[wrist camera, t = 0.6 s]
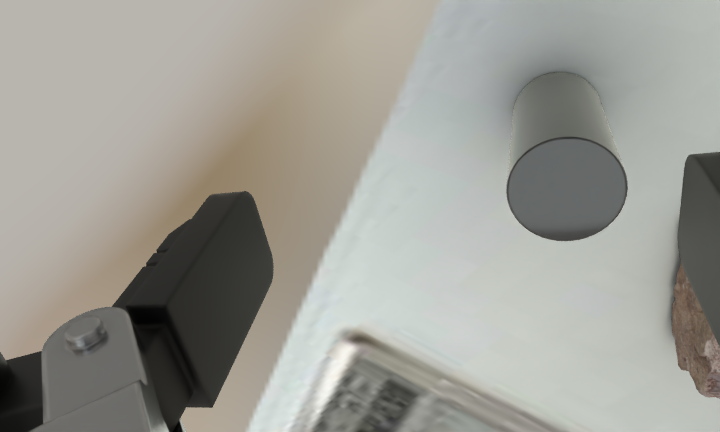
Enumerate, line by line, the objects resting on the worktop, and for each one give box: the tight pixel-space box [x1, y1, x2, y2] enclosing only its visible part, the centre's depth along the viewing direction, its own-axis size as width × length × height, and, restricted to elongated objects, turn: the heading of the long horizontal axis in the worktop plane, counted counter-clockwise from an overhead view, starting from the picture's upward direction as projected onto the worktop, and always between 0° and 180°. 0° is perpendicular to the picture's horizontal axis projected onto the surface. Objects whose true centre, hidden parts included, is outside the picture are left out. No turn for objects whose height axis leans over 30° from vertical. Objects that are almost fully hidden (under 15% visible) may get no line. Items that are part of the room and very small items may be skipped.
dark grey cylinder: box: [506, 72, 628, 241], centre depth 25 cm, size 4×4×9 cm
